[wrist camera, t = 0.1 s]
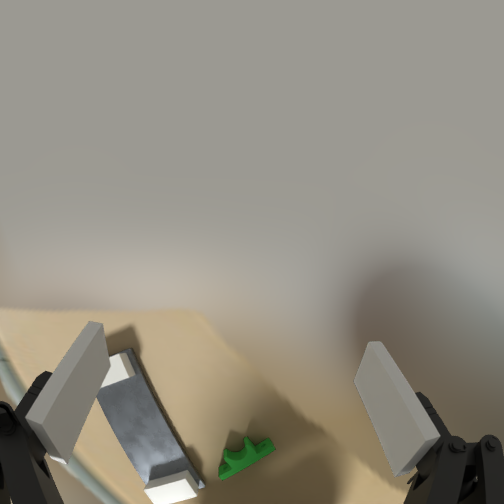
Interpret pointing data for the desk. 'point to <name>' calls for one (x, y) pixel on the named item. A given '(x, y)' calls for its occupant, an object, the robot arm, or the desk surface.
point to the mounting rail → (146, 432)
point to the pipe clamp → (244, 457)
